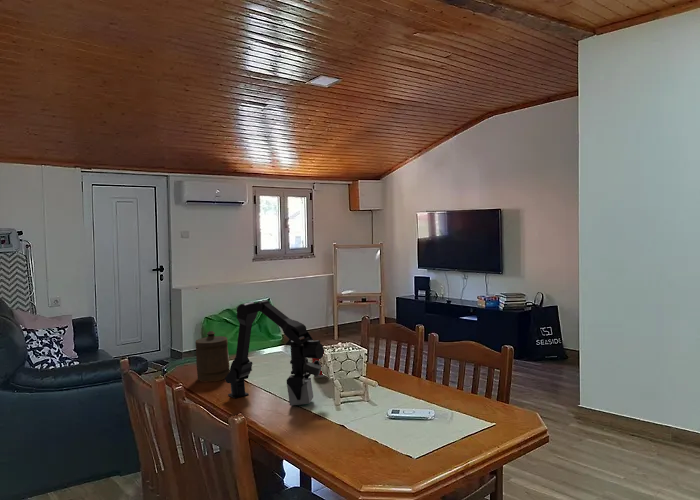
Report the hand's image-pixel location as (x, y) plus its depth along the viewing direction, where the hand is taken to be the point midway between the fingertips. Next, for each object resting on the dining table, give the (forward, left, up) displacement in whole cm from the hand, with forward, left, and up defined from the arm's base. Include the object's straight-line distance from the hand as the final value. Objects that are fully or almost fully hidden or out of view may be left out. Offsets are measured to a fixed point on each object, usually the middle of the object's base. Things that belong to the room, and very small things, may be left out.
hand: (301, 396), depth 229 cm
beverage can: (-28, +28, -3) cm, 40 cm away
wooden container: (-65, -7, -3) cm, 65 cm away
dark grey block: (0, 0, -2) cm, 2 cm away
